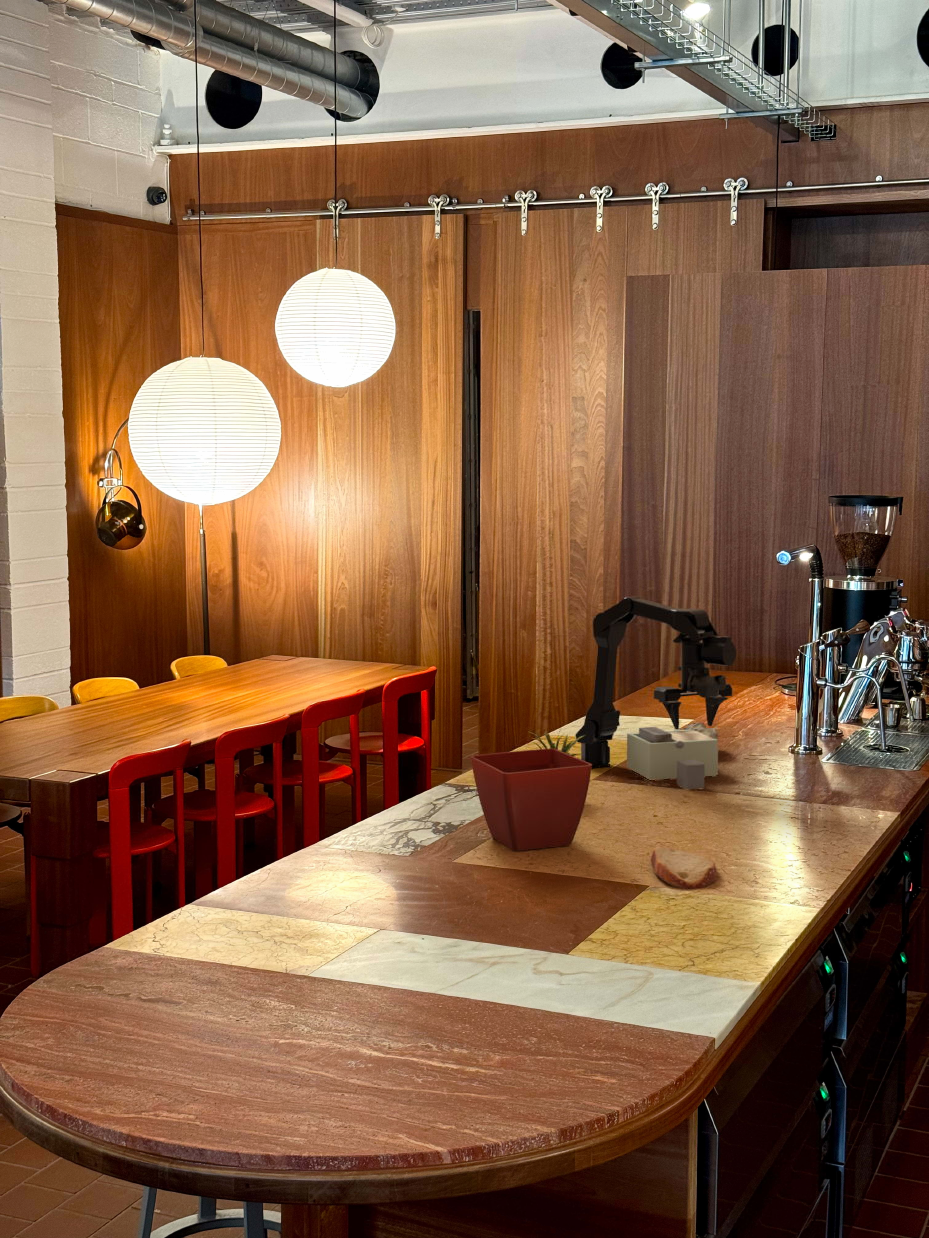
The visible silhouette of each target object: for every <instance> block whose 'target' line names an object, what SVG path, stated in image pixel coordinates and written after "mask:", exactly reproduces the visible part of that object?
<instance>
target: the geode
mask: <svg viewBox="0 0 929 1238" xmlns="http://www.w3.org/2000/svg"><path fill="white" fill-rule="evenodd" d="M692 729H693V730H695V731H697V732H699V733H702V734H704V735H707V736H709V737H711V738H714V739H717V740H718V739H719V732H718V728H715V727H713V728H711V727H709V728H708V727H706V724H705V723H704V722H693V723H692V724H689V723H688V724H687V726H686V727H683V729H680V728H679V729H675V728H674V729H673V731H676V730H692Z"/></svg>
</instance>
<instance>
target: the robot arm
mask: <svg viewBox="0 0 929 1238" xmlns="http://www.w3.org/2000/svg"><path fill="white" fill-rule="evenodd" d="M636 616H637V617H638V616H639V617H641V618H644V619H645V618H646V619H648V620H651V621H652V620H653V621H656V622H658V623H663V624H666V625H668V626H669V627H671V628H672V630H674V631H676V632H678V633H679V634H678V635H677V636H676V637H675V638H674V639H673V640H672V642H673V643H675V644H680V665H678V666H677V669H678V671H679V672H680V675H681V676H680V682H678V684H677V685H678V686H677V687H674V686H670V685H666V686H665V685H664V686H656V688H655V690H654V691H653V699H654V700H658V702H659V703H661V704H662V705H663V707H664V708H665V710H666V712H667V714H668V716H669V718H670V721H671V723H672V725H673V728H674V729H680V706H681V704H682V701H679V700H680V699H681V697H691V696H699V697H700V698H703V699H704V701H705V713H706V722H707V726H708V727H712V726H713V724H714V720H715V717H716V715H717V712H718V710H719V708H720V706H721V704H723V702H724V701H727V700H728V698H729V697H732V696H733V695H734V694H733V687H732V685H731V684H730V683H727V681H726V679H727V678H726V676H725V675H723V674H717V675H711V674H710V668H709V667H708V666H706V664H707V665H717V666H726V667H727V666H728V667H730V666H732V665H733V664H734V663H735V661H736V659H737V649H736V646H735V644H734V642H732V636H730V635H729V636H728V635H727V636H726V635H725V636H720V635H719V633H718V632H717V630H716V628H715V627H714V625H713V624H712V622H711V621H710V616H709V614H708V612H707V611H706V610H705V609H702V608H677V607H673V606H669V605H665V604H662V603H658V602H654V601H651V600H647V599H645V598H644V599H643V598H641V597H639V596H637V595H635V596H628V597H627V596H626V597H624V598H623V599H622V600H620V601H619V602H618V603H617V604H615V605H613V606H611V607H609V608H607V609H606V610H604V611H603V612H598V613H597V614H596V615H595V616H594V617H593V618H592V632H593V638H594V640H595V642H596V645H597V653H596V654H597V655H596V662H595V663H596V665H595V675H594V685H593V687H594V690H593V699H592V702H591V704H590V706H589V708H588V709H587V711H586V713H585V717H584V722H583V725H582V726H581V728H579V729H578V731H577V732H576V733H575V734H574V735H575V738H576V739H577V738H579V737H581V736H583V737H581V738H580V739H579V740H578V741H577V742H576V743H579V744H580V759H581V760H583V761H585V762H588V763H590V764H592V768H602V767H601V766H607V767H611V765H612V764H610V762H611V747H610V746H609V741H612V740H613V737H614V734H615V733H616V732H617V730H618V727H620V726H621V725H620V716H621V710H620V709H619V710H618V709H616V708H615V705H614V691H615V679H616V670H617V669H616V667H617V658H618V657H617V656H618V648H619V646H620V644H621V642H622V640H623V639H624V637H625V633H626V629H627V626H628V625H629V624H630V623H631V622H632V621H634V619H635V617H636ZM584 735H585V736H584ZM576 739H575V740H576ZM599 766H600V767H599Z"/></svg>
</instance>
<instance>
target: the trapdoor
mask: <svg viewBox="0 0 929 1238" xmlns="http://www.w3.org/2000/svg"><path fill="white" fill-rule="evenodd" d="M666 731H667V730H664V729H661V728H659V727H657V726H648V727H646V726H645V727H639V728H638V733H639V737H640V738H642V739H644V740H646V741H648V742H650V743H661V742H676V741H692V740H708V739H714V738H711V737H709V736H707V735H704V734H702V733H699V732H697V731H688V732H672V733H668V732H666Z"/></svg>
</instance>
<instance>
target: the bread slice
mask: <svg viewBox="0 0 929 1238" xmlns="http://www.w3.org/2000/svg"><path fill="white" fill-rule="evenodd" d="M650 863H651V866H652V869H653V872H654V874H655V876H656V877H658V878H660V879H661V881H663V882H664V883H666V884H667V885H669V886H671V887H674V888H677V889H683V890H699V889H700V890H701V889H704V888H707V887H709V885H711V884H714V883H716V881H717V879H718V877H719V875H718V870H717V867H716V864H715V862H714V861H713V860H712V859H710V858H707V857H703V856H702V855H700V854H698V853H695V852H690V851H687V850H683V849H679V848H671V847H663V846H657V847H656V846H655V847H654V849H653V850H652V854H651V857H650Z"/></svg>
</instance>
